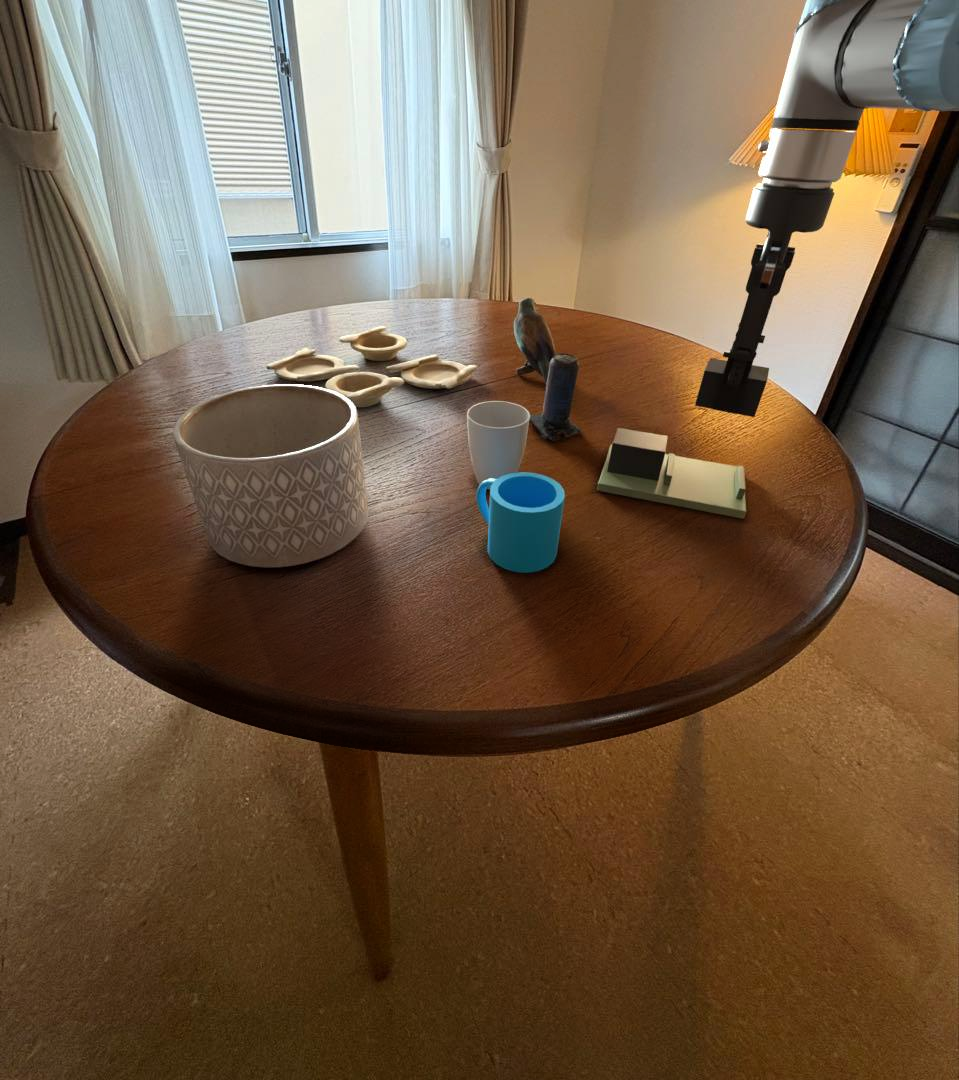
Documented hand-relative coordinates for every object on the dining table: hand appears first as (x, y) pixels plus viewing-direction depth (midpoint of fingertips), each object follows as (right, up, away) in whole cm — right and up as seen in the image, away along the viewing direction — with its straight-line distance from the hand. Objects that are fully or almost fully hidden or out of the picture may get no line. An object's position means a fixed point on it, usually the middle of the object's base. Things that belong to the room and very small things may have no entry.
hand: (727, 401), depth 70 cm
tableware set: (-52, +14, +37) cm, 65 cm away
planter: (-54, -16, -2) cm, 56 cm away
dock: (-4, -9, +9) cm, 13 cm away
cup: (-29, -9, +8) cm, 31 cm away
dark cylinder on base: (-19, +1, +21) cm, 29 cm away
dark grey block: (0, 0, 0) cm, 0 cm away
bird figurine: (-19, +15, +40) cm, 46 cm away
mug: (-27, -18, -3) cm, 33 cm away
